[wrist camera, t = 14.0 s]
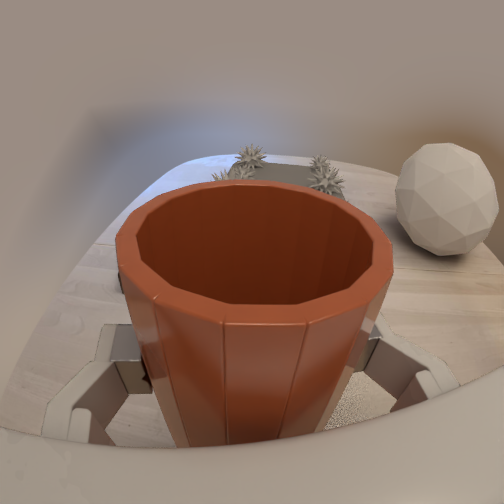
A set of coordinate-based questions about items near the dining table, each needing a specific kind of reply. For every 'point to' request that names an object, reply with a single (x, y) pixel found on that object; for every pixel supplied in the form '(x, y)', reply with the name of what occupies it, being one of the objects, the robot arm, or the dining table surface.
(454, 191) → the sphere
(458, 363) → the dining table surface
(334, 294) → the pot
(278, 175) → the decorative tray
